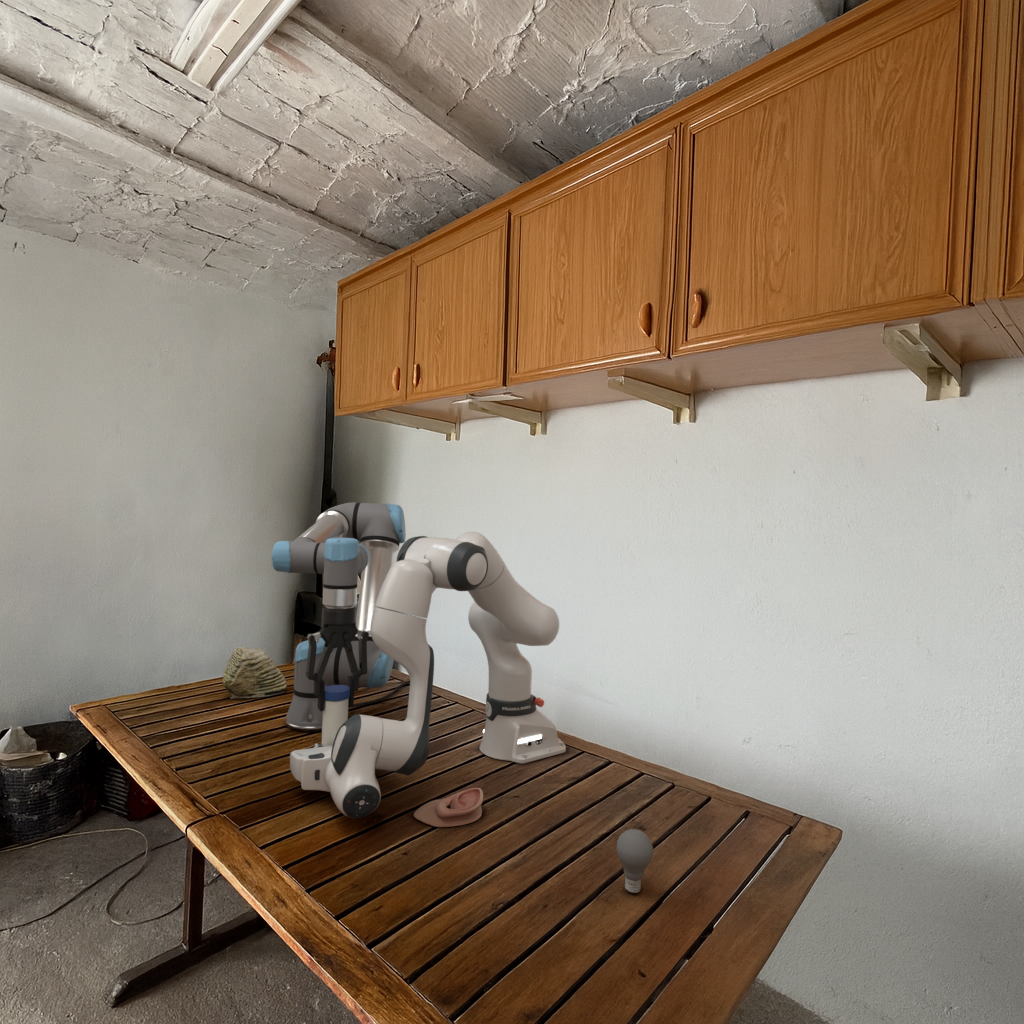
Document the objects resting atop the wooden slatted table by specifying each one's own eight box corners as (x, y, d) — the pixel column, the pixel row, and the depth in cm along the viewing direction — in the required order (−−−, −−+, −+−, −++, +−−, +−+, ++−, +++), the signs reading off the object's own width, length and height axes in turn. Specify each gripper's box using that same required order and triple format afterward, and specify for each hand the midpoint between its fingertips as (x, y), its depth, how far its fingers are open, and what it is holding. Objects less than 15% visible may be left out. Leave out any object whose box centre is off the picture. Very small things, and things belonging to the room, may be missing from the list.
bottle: (347, 769, 147) (350, 687, 147) (343, 780, 142) (347, 694, 142) (322, 770, 147) (325, 686, 146) (318, 780, 141) (321, 694, 141)
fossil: (218, 695, 195) (220, 647, 195) (278, 685, 208) (279, 640, 207) (228, 703, 189) (230, 653, 188) (289, 692, 201) (290, 645, 201)
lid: (351, 692, 147) (352, 684, 147) (348, 701, 141) (348, 692, 141) (324, 692, 147) (324, 684, 147) (319, 701, 140) (320, 692, 140)
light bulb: (610, 879, 108) (613, 822, 108) (644, 879, 109) (647, 822, 109) (619, 902, 102) (622, 840, 102) (655, 901, 103) (658, 840, 103)
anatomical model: (408, 802, 124) (427, 778, 135) (407, 822, 124) (427, 796, 136) (473, 812, 122) (488, 786, 133) (473, 832, 122) (487, 805, 133)
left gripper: (375, 601, 152) (371, 697, 152) (292, 605, 142) (289, 707, 143) (385, 606, 145) (381, 707, 145) (299, 610, 136) (295, 718, 136)
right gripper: (394, 747, 137) (378, 725, 149) (295, 760, 128) (287, 736, 141) (393, 776, 137) (377, 752, 150) (294, 791, 128) (286, 764, 141)
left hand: (335, 707), depth 144 cm, fingers closed on lid, 6 cm apart
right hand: (333, 744), depth 145 cm, fingers closed on bottle, 5 cm apart
